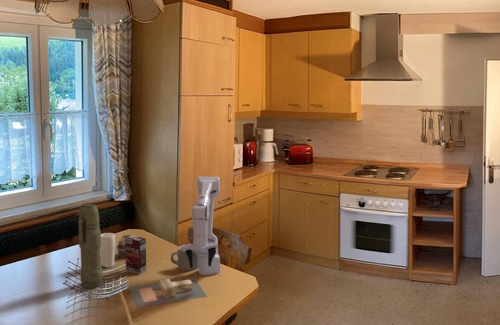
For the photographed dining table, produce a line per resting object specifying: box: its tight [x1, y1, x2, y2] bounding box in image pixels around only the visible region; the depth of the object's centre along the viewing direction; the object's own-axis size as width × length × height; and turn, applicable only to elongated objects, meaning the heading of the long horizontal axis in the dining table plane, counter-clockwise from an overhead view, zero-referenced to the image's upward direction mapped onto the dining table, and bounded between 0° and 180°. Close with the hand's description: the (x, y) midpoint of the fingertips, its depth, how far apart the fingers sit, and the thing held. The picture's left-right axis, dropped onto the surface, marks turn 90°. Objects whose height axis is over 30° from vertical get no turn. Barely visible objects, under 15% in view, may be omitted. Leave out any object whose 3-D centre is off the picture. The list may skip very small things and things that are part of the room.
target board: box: [128, 277, 208, 308], centre depth 207 cm, size 28×20×1 cm
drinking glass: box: [100, 232, 116, 268], centre depth 236 cm, size 7×7×15 cm
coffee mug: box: [170, 244, 198, 272], centre depth 234 cm, size 13×10×10 cm
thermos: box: [77, 202, 103, 290], centre depth 212 cm, size 9×12×35 cm
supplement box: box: [125, 234, 147, 275], centre depth 229 cm, size 9×5×16 cm, turn 62°
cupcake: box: [116, 234, 132, 260], centre depth 250 cm, size 10×10×10 cm
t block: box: [159, 278, 193, 298], centre depth 208 cm, size 12×12×3 cm
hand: (200, 266), depth 210 cm, fingers open, 7 cm apart
